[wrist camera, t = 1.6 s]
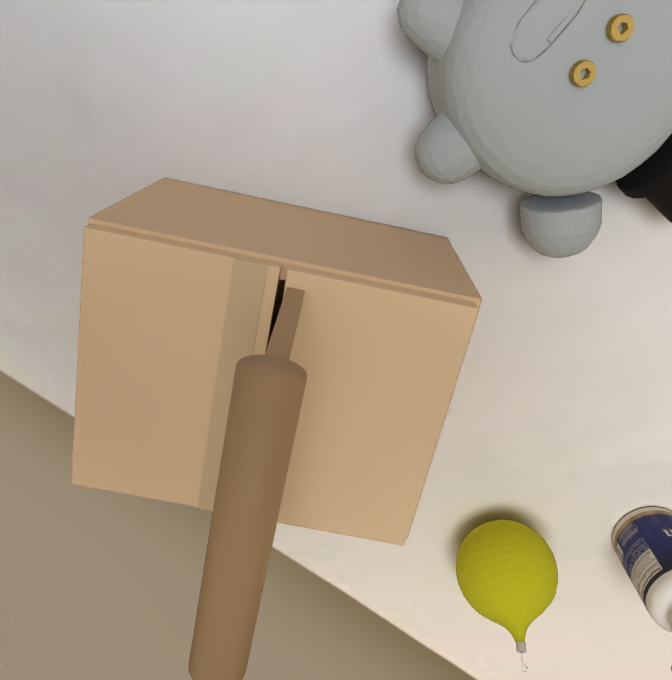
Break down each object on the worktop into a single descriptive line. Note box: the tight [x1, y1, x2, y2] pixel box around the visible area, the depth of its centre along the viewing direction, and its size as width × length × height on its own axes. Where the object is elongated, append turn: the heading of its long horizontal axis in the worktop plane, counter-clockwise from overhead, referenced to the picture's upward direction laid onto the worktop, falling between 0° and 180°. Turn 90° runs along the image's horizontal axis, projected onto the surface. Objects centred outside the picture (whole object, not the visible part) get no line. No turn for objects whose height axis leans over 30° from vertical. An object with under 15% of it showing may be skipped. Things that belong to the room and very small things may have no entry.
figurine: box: [397, 0, 672, 258], centre depth 33 cm, size 17×8×20 cm
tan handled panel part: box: [189, 265, 478, 680], centre depth 26 cm, size 9×14×11 cm
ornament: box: [456, 520, 558, 672], centre depth 44 cm, size 7×7×10 cm
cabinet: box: [72, 178, 482, 539], centre depth 36 cm, size 18×14×13 cm
